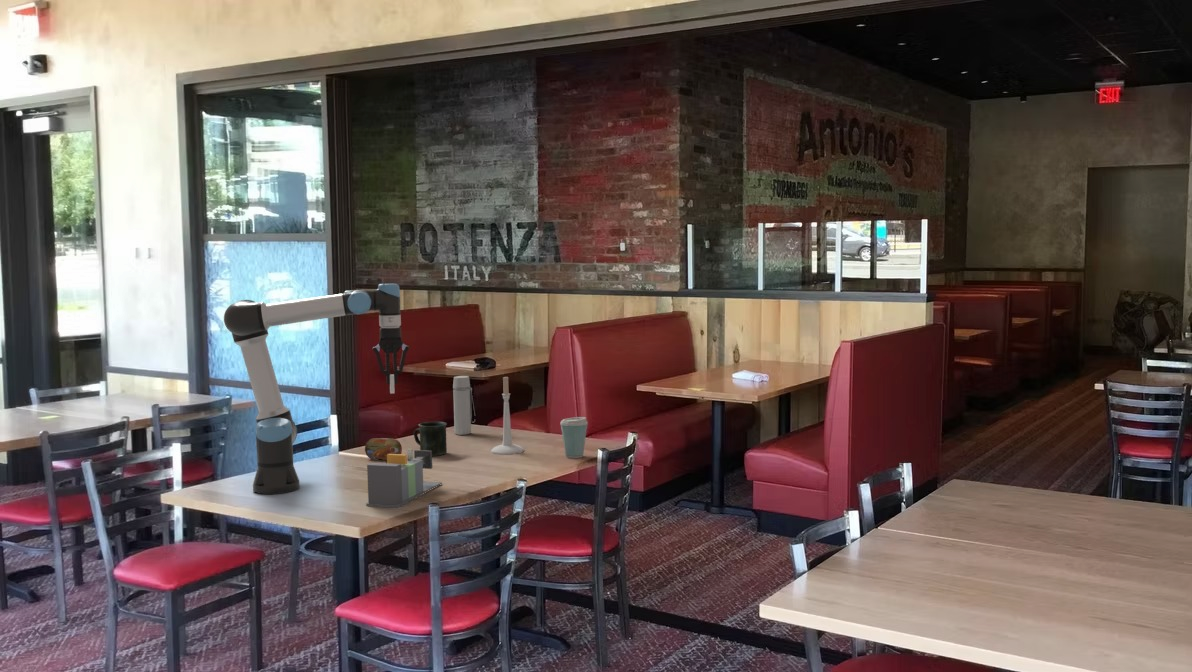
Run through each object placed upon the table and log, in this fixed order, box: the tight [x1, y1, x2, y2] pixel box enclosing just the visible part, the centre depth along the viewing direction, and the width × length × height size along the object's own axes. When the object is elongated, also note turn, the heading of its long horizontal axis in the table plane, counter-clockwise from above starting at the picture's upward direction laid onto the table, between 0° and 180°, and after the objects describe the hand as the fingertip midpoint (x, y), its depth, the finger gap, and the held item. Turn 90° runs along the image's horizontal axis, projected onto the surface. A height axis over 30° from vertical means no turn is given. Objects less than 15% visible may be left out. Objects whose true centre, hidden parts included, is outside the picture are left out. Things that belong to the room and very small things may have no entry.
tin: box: [364, 437, 403, 461], centre depth 392 cm, size 15×3×8 cm, turn 71°
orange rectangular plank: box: [386, 453, 408, 465], centre depth 329 cm, size 2×6×3 cm, turn 74°
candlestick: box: [490, 376, 525, 455], centre depth 403 cm, size 13×13×30 cm
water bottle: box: [452, 375, 476, 436], centre depth 443 cm, size 9×8×25 cm
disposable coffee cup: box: [559, 416, 588, 459], centre depth 391 cm, size 11×11×15 cm
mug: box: [413, 421, 448, 457], centre depth 402 cm, size 11×15×12 cm
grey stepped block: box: [366, 460, 443, 509], centre depth 334 cm, size 32×11×13 cm, turn 164°
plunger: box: [406, 448, 433, 470], centre depth 339 cm, size 17×6×8 cm, turn 164°
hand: (392, 392), depth 365 cm, fingers closed
